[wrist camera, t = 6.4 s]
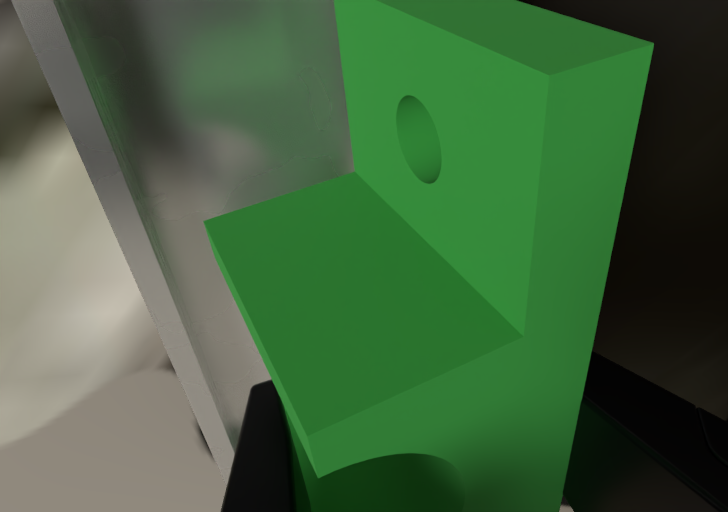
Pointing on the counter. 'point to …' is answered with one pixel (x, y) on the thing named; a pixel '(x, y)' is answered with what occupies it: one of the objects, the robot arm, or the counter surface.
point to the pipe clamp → (445, 256)
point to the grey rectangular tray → (195, 152)
